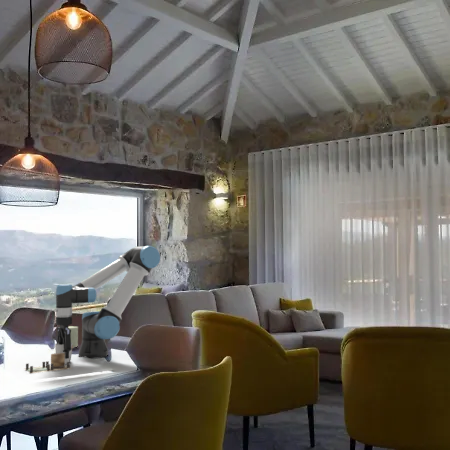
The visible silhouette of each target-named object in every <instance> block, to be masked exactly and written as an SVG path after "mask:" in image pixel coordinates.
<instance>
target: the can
mask: <svg viewBox="0 0 450 450" xmlns="http://www.w3.org/2000/svg"><path fill="white" fill-rule="evenodd" d="M68 328H69V330H71V343H73V344H72V349H75V348H74V347H77V346H78V347H79V326H75V325H74V326H73V325H68ZM78 347H77V348H78Z"/></svg>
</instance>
